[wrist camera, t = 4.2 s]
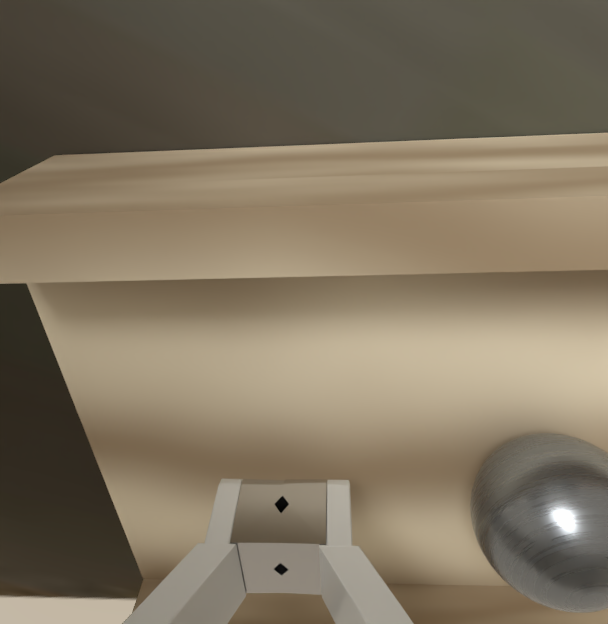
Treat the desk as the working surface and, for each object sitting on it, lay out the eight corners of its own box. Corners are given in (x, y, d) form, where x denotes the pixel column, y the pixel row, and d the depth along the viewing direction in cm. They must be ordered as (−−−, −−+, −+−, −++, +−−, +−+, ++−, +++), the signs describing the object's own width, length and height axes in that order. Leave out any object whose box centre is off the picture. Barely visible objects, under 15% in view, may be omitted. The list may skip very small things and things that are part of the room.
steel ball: (464, 400, 11) (513, 542, 8) (622, 399, 11) (733, 545, 8) (448, 499, 13) (483, 645, 10) (583, 500, 13) (661, 650, 10)
